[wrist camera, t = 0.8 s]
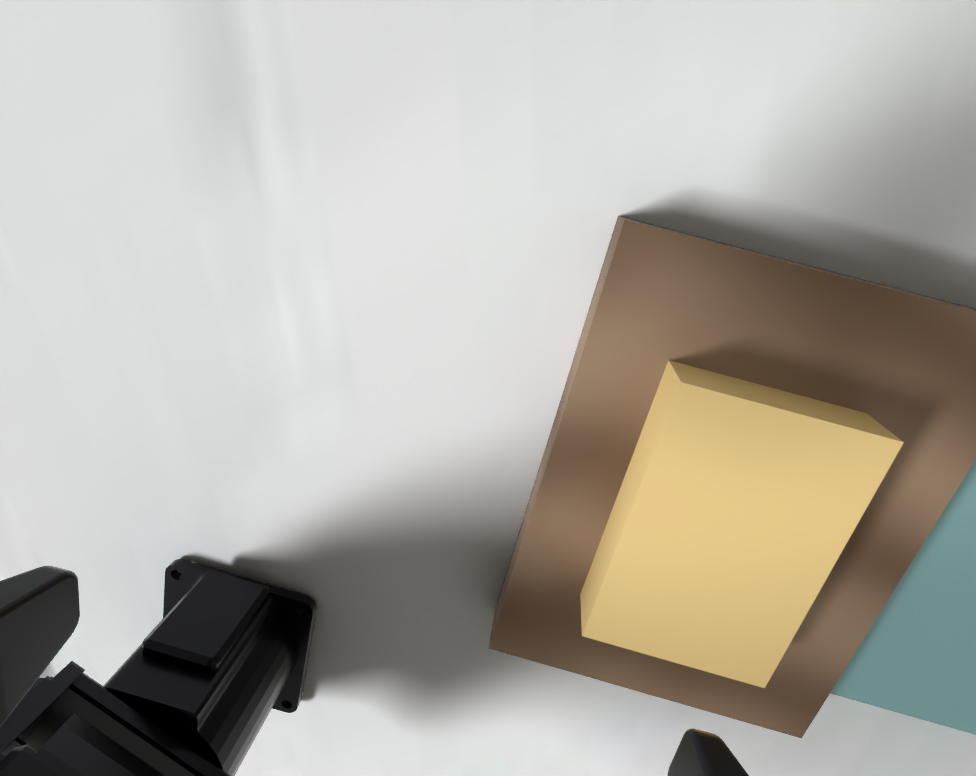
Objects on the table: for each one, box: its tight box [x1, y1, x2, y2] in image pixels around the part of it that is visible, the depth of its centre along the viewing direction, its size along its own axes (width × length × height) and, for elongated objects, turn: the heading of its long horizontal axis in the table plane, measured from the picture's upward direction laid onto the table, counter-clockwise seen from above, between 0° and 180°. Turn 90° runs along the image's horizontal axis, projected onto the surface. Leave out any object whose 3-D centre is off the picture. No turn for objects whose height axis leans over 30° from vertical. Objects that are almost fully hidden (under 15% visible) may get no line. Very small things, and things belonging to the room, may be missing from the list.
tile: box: [580, 360, 904, 688], centre depth 18 cm, size 9×6×2 cm, turn 166°
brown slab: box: [489, 216, 976, 738], centre depth 20 cm, size 16×12×2 cm
